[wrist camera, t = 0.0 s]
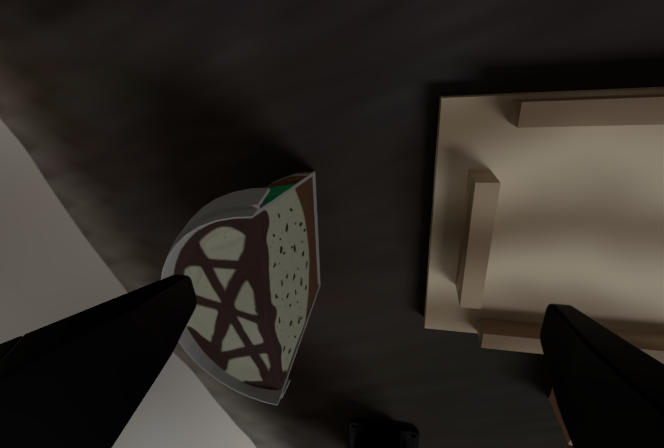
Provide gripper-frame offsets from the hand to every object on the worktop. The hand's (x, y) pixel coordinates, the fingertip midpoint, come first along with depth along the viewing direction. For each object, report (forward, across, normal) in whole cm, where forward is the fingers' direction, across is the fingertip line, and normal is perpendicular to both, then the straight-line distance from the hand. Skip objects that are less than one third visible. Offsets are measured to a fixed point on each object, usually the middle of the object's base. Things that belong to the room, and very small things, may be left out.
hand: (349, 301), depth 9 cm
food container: (+15, +8, +5) cm, 18 cm away
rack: (+15, -14, +4) cm, 21 cm away
